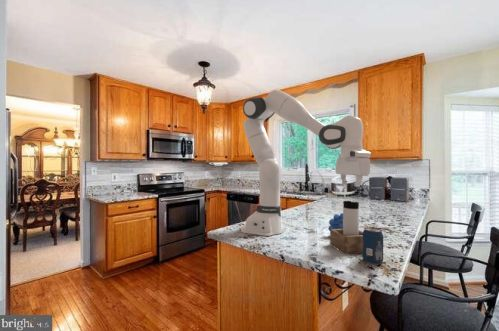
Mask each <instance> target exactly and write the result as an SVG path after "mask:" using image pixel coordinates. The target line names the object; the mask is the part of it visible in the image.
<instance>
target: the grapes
mask: <svg viewBox="0 0 499 331" xmlns="http://www.w3.org/2000/svg"><path fill="white" fill-rule="evenodd" d="M328 224H329V226H328V228H327V229H328V231H329V232H330V229H343V212H341V213H340V214H338V213H336V214H334V215H333V218H331V219H330V220H329V221H328Z"/></svg>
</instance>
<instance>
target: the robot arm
mask: <svg viewBox="0 0 499 331" xmlns="http://www.w3.org/2000/svg"><path fill="white" fill-rule="evenodd" d="M242 111H243V114H244V115H245V117H246V119H245V120H244V121H243V130H244V133H245V137H246V139H247V142H248V144H249V147H250V150H251V151H252V154H253V157H254V159H255V161H256V163H257V165H258V168H259V170H258V172H259V173H258V175H259V203H257V204H256V205H255V211H254V212H253V213H252V214H251V215H249V216H248V217H247V218H246V219H245V224H244V225H243V226H242V227H241V228H240V232H241V233H243V234H250V235H258V236H265V237H270V236H274V235H279V234H282V233H283V232H284V230H283V227H282V221H281V218H282V217H281V215H282V205H281V181H282V180H281V178H282V176H281V174H282V168H281V164H280V163H279V161H278V158H277V156H276V153H275V151H274V148H273V145H272V143H271V140H270V138H269V135H268V134H267V130H266V128H265V126H264V123H265V122H269V120H270V119H271V118H272V117H273V116H274V115H275V114H276V115H277V116H279V117H280V118H282V119H283V120H285V121H287V122H289V123H292V124H295V125H297V126H300V127H304V128H305V129H307V130H308V131H310V132H311V133H313V134H314V135H315V136H317V137H318V140H319V141H320V142H321V144H323V145H324V146H325V147H326V148H328V149H330V150H335V149H339V148H340V155H339V156H338V157H337V159H336V164H335V174H337V175H340V180H341V184H342V185H343V186H345V185H348V180H347V176H349V175H350V176H355V178H356V179H355V181H354V187H358V188H359V187H361V182H362V180H363V177H369V175H370V172H371V160H370V159H371V152H370V151H367V150H366V149H364V146H363V138H364V125H363V124H364V123H363V120H362V119H361V118H359V117H358V116H352V115H347V116H343V117H342V118H341V119H339V120H338V121H336V122H333V123H329V124H327V125H325V124H324V123H322V122H321V121H319V119H317V118H315V117H314V116H313V115H312V114H311V112H309V110H308V109H307V108H306V107H305V106H304V105H303V104H302V103H301V101H299V100H298V99H297V98H295V97H294V96H293V95H291V94H289V93H287V92H284V91H282V90H280V89H273V90H271V91H270V92H269V93H268V94H267V96H266V97H262V96H257V97H254V96H253V97H250V98H247V99H246V100H245V101H244V103H243V105H242Z"/></svg>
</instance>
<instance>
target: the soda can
mask: <svg viewBox="0 0 499 331" xmlns="http://www.w3.org/2000/svg"><path fill="white" fill-rule="evenodd" d="M362 232H363V241H362V254H361V256H362V259H363V261H364V262H366V263H367V264H371V265H381V264H382V263H383V261H384V234H383V232H382V229H380V228H376V227H364V229H363V231H362Z"/></svg>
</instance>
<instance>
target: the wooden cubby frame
mask: <svg viewBox="0 0 499 331" xmlns="http://www.w3.org/2000/svg"><path fill="white" fill-rule="evenodd" d="M329 234H330V235H329V239H330V240H329V245H331V246H332V247H333V248H335V249H336V250H338V251H340V252H341V253H342V254H357V253H359V254H361V253H362V241H363V231H362V230H360V229H359V235H355V236H345V235H343V229H330V231H329Z"/></svg>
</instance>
